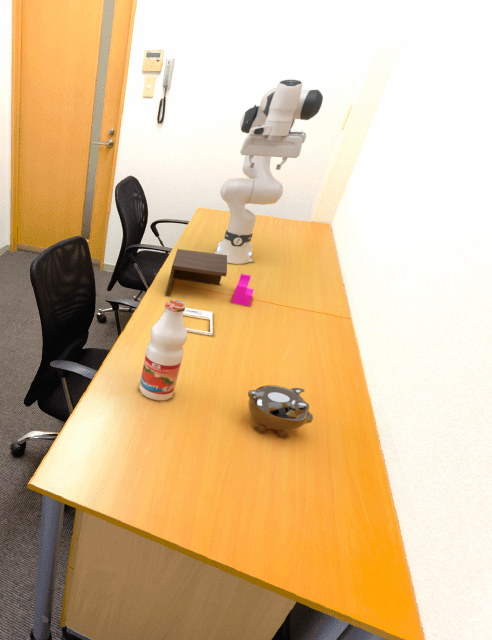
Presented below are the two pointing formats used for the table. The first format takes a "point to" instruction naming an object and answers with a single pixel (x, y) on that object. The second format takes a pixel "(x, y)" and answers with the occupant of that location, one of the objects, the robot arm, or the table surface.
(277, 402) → the piggy bank
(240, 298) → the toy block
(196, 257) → the shelf
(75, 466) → the table surface
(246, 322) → the table surface
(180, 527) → the table surface
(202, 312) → the photo frame
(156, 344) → the fruit juice
